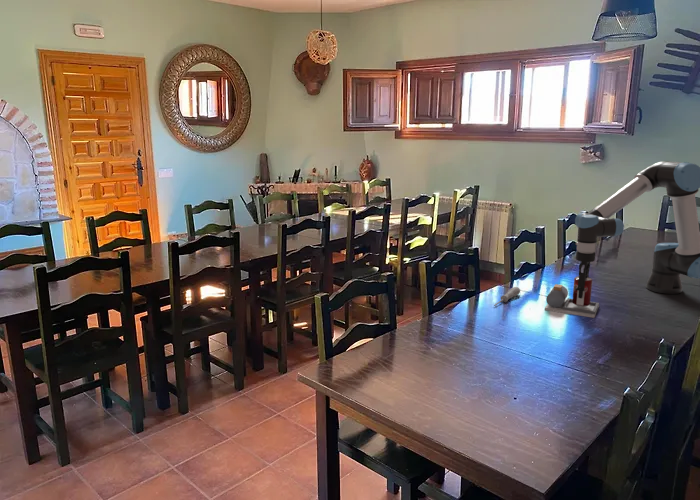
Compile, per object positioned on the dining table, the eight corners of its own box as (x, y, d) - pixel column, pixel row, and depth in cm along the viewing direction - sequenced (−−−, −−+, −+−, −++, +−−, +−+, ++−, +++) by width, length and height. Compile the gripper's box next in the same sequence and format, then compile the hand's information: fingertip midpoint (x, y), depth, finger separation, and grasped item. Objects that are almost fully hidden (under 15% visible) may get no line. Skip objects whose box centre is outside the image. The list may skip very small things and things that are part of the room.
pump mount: (598, 306, 231) (601, 286, 229) (594, 317, 218) (596, 296, 216) (551, 299, 241) (553, 280, 239) (544, 309, 228) (546, 289, 226)
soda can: (582, 308, 223) (584, 281, 220) (568, 303, 229) (570, 277, 226) (593, 305, 226) (596, 278, 223) (579, 300, 232) (582, 274, 229)
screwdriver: (490, 310, 234) (488, 301, 233) (513, 293, 252) (512, 285, 251) (499, 310, 231) (497, 301, 230) (523, 293, 249) (521, 285, 248)
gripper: (580, 245, 232) (575, 294, 237) (572, 255, 215) (568, 307, 221) (598, 247, 228) (593, 296, 233) (592, 257, 211) (587, 310, 217)
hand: (581, 301), depth 227 cm, fingers closed on soda can, 7 cm apart
